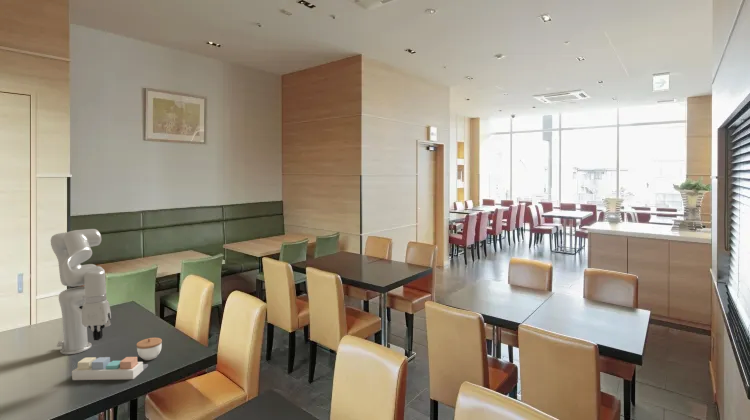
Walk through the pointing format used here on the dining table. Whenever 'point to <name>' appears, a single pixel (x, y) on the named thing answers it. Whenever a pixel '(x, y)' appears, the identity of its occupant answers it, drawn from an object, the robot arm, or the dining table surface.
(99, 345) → the dining table surface
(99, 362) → the key
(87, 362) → the key
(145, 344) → the lidded jar
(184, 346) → the dining table surface
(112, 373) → the keypad
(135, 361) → the key
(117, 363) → the key
